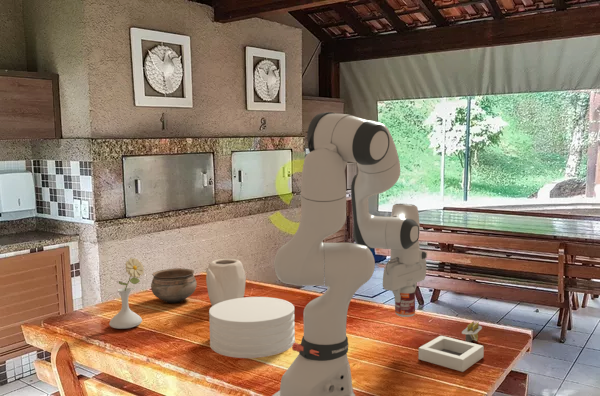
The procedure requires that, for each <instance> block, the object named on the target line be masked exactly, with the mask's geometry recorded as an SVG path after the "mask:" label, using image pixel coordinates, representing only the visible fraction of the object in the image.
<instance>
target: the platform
mask: <svg viewBox="0 0 600 396" xmlns="http://www.w3.org/2000/svg"><path fill="white" fill-rule="evenodd" d="M482 329H483V326H481V325H479V321H475V320H473V321H472V322H471V323H469V324H468V325H467V326H466V328H464V329H463V330H462V331H461V334H462V335H465V341H466V342H470V343H472V341H475V342H478V340H479V332H480V331H481V330H482Z"/></svg>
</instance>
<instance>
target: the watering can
mask: <svg viewBox="0 0 600 396" xmlns="http://www.w3.org/2000/svg"><path fill="white" fill-rule="evenodd" d="M204 270H205V272H206V277H205V281H206V282H205V283H206V288H207V289H206V290H207V295H208V299H209V301H210V305H211V307H212V306H214V305H215V304H217V303H220V302H223V301H226V300H231V299H236V298H244V296H245V293H246V292H245V291H246V281H247V278H246V272H245V268H244V265H243V262H242V261H241V260H239V259H237V258H236V259H235V258H219V259H214V260H212V261H211V262H210V263H208V266H207V267H206V268H205V269H204Z"/></svg>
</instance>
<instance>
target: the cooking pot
mask: <svg viewBox="0 0 600 396" xmlns="http://www.w3.org/2000/svg"><path fill="white" fill-rule="evenodd" d="M194 274H195V270H193V269H190V268H185V267H184V268H182V267H181V268H179V267H177V268H166V269H160V270H157V271H155V272H153V273H152V274H151V275H152V276H153V277H152V281H151V283H150V284H151V285H150V289H151V292H152V294H153V295H154V296H155V297H156V298H158V299H159V300H161V301H164V302H166V303H168V304H177V303H178V304H179V303H181V302H183V301H184V300H186V299H187V298H189V297H190V296H192V295H193V294H194V292H195V291H196V288H197V283H198V282H197V280H196V277H195V275H194Z"/></svg>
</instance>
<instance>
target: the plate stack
mask: <svg viewBox="0 0 600 396" xmlns="http://www.w3.org/2000/svg"><path fill="white" fill-rule="evenodd" d="M208 310H209V311H208V316H209V318H208V319H209V322H208V323H209V340H210V341H209V347H210V348H211V350H212V351H214V352H215V353H217V354H219V355H221V356H225V357H230V358H239V359H254V358H255V359H256V358H264V357H271V356H275V355H278V354H279V355H280V354H282V353H284V352H286V351H288V350H290V349H291V348H292V347H293V346H292V345H293V343H296V338H295V337H296V336H295V335H296V331H295V327H296V325H295V305H294V304H293V303H292V302H289V301H288V300H285V299H282V298H277V297H270V296H269V297H268V296H246V297H244V298H236V299H231V300H226V301H223V302H220V303H217V304H215V305H214V306H212V305H211V307H210V308H209V309H208Z"/></svg>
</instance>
